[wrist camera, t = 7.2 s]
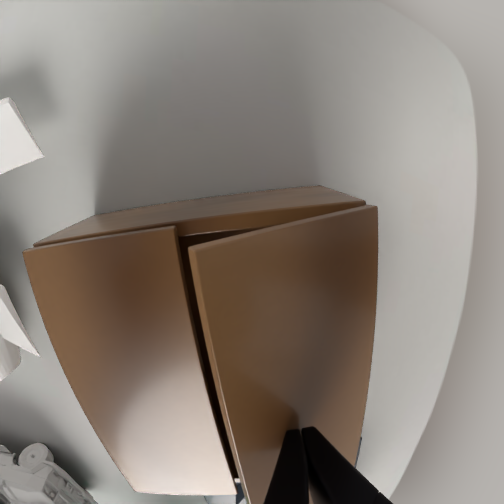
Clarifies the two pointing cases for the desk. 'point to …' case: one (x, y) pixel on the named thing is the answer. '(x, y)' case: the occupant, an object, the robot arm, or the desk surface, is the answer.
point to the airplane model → (3, 312)
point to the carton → (152, 329)
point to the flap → (290, 333)
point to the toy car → (37, 479)
